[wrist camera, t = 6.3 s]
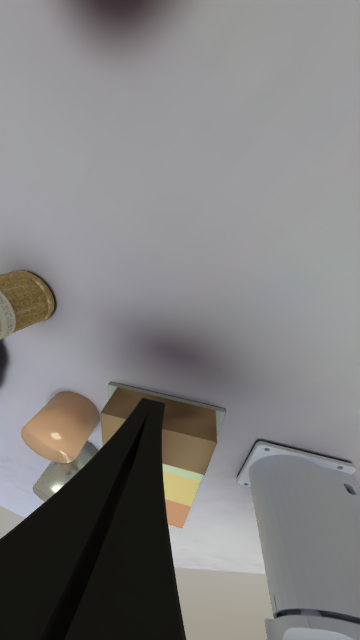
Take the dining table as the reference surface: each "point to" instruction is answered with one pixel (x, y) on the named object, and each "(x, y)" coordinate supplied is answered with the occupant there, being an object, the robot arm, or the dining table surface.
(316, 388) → the dining table surface
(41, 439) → the peach smooth rounded cylinder
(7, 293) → the sprinkles bottle
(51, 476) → the tin
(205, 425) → the brown rectangular block
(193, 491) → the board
